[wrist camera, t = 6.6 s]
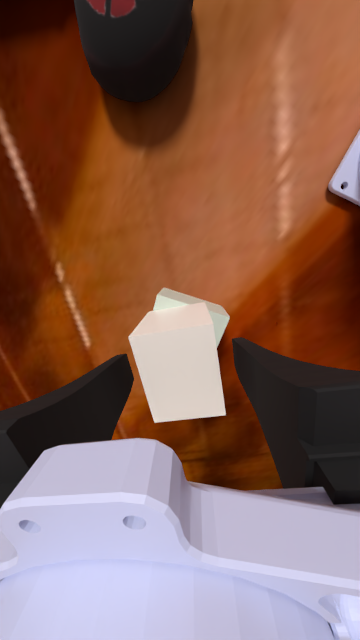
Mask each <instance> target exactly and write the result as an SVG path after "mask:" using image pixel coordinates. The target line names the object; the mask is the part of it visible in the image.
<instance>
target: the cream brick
mask: <svg viewBox="0 0 360 640" xmlns="http://www.w3.org/2000/svg"><path fill="white" fill-rule="evenodd" d="M129 341H130V344H131V347H132V351H133V354H134V357H135V360H136V364H137V367H138V370H139V374H140V377H141V380H142V383H143V387H144V390H145V393H146V397H147V400H148V403H149V407H150V410H151V413H152V416H153V420H154V423H156V422H166V421H175V420H185V419H194V418H204V417H214V416H223V415H226V412H225V405H224V398H223V391H222V383H221V376H220V369H219V361H218V354H217V347H216V339H215V332H214V325H213V322H212V319H211V317H210V314H209V312H208V309H207V307H206V304H205V302H202V303H196V304H190V305H184V306H179V307H173V308H167V309H161V310H155V311H150V312H148V313H147V315H146V316H145V317H144V318H143V320H142V321H141V322H140V323H139V325H138V326H137V327H136V328H135V330H134V331H133V332H132V333H131V335H130V336H129Z"/></svg>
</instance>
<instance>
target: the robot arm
mask: <svg viewBox="0 0 360 640" xmlns="http://www.w3.org/2000/svg"><path fill="white" fill-rule="evenodd" d="M341 184H343V185H344V188H343V190H342V189H341ZM328 188H329V190H330V191H331V192H332V193H334V194H336V195H338V196H340V197H343V198H345V199H347V200H349V201H351V202H353V203H355V204H357V205H359V206H360V130H359V132H358V133H357V135H356V137H355V139H354V140H353V142H352V144H351V146H350V147H349V149H348V151H347V153H346V154H345V156H344V158H343V160H342V161H341V163H340V165H339V167H338V168H337V170H336V172H335V174H334V175H333V177H332V179H331V181H330V183H329V186H328ZM232 343H233V353H234V364H235V368H236V371H237V374H238V377H239V380H240V382H241V384H242V386H243V388H244V390H245V392H246V394H247V396H248V398H249V400H250V402H251V404H252V406H253V408H254V410H255V412H256V414H257V416H258V419H259V422H260V424H261V427H262V429H263V432H264V435H265V438H266V440H267V443H268V446H269V448H270V451H271V454H272V457H273V460H274V462H275V465H276V468H277V471H278V474H279V477H280V480H281V483H282V486H283V489H271V490H253V491H242V490H236V489H230V488H224V487H219V486H213V485H207V484H201V483H195V482H189V481H187V480H186V478H185V475H184V471H183V467H182V463H181V461H180V460H179V458H178V457H177V455H176V454H175V452H174V451H173V449H171V448H170V447H168V446H167V445H165V444H163V443H161V442H159V441H157V440H154V439H145V438H130V439H119V440H111V439H112V436H113V433H114V430H115V427H116V424H117V422H118V420H119V417H120V415H121V413H122V411H123V408H124V406H125V404H126V401H127V399H128V397H129V394H130V392H131V388H132V385H133V381H134V377H133V374H132V370H131V367H130V364H129V361H128V357H127V354H120V355H116V356H114V357H113V358H111V359H109V360H107V361H106V362H104V363H103V364H101V365H99V366H98V367H96V368H95V369H93V370H92V371H90V372H88V373H87V374H85V375H83V376H82V377H80V378H78V379H76V380H75V381H73V382H71V383H69V384H67V385H65V386H63V387H61V388H59V389H57V390H55V391H52V392H50V393H48V394H45V395H43V396H41V397H39V398H36V399H34V400H31V401H28V402H26V403H23V404H20V405H18V406H15V407H12V408H9V409H6V410H3V411H0V640H360V371H353V370H344V369H338V368H332V367H325V366H320V365H315V364H311V363H307V362H302V361H299V360H295V359H292V358H289V357H285V356H282V355H280V354H277V353H275V352H272V351H270V350H267V349H265V348H263V347H261V346H259V345H257V344H255V343H253V342H251V341H249V340H247V339H245V338H242V337H241V338H234V339H232Z"/></svg>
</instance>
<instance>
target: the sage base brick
mask: <svg viewBox="0 0 360 640" xmlns="http://www.w3.org/2000/svg"><path fill="white" fill-rule="evenodd" d="M202 302H205V304H206V307H207V309H208V312H209V314H210V317H211V319H212V322H213V325H214V332H215V339H216V347H218V344H219V342H220V340H221V337H222V335H223V333H224V330H225V328H226V326H227V323H228V321H229V319H230V317H229V315H228V314H227V313H226V311H225V310H224V309H223V307H222V306H220V305H217V304H214V303H211V302H208V301H205V300H202V299H198V298H195V297H192V296H189V295H186V294H183V293H179V292H176V291H173V290H170V289H167V288H163V289H162V290H161V291H160V292H159V293H158V294H157V298H156V301H155V305H154V309H153V311H155V310H161V309H167V308H173V307H179V306H184V305H190V304H196V303H202Z"/></svg>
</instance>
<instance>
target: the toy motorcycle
mask: <svg viewBox="0 0 360 640" xmlns="http://www.w3.org/2000/svg"><path fill="white" fill-rule="evenodd" d="M74 4H75V11H76V16H77V21H78V26H79V31H80V37H81V43H82V47H83V50H84V53H85V56H86V59H87V62H88V64H89V67H90V70H91V73H92V75H93V76H94V78H95V79H96V80H97V82H98V83H99V84H100V86H101V87H102V88H103V89H104V90H105V91H106V92H108V93H109V94H110V95H112V96H114V97H116V98H118V99H123V100H127V101H132V102H142V101H147V100H149V99H151V98H153V97H155V96H156V95H157V94H159V93H160V92H161V91H162V90H163V89H165V88H166V86H167V85H168V84H169V83H170V82H171V80H172V79H173V78H174V76H175V74H176V73H177V71H178V69H179V67H180V64H181V61H182V58H183V55H184V52H185V49H186V46H187V44H188V40H189V37H190V32H191V27H192V18H191V11H192V6H193V0H74Z"/></svg>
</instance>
